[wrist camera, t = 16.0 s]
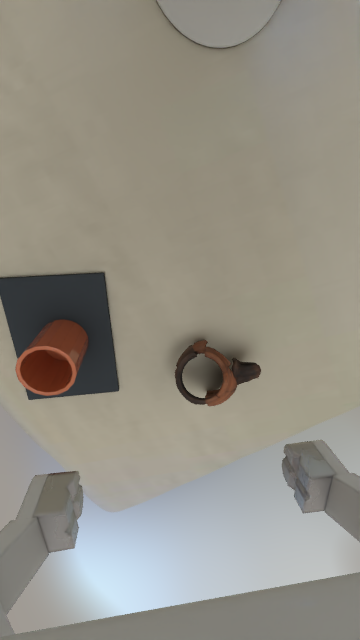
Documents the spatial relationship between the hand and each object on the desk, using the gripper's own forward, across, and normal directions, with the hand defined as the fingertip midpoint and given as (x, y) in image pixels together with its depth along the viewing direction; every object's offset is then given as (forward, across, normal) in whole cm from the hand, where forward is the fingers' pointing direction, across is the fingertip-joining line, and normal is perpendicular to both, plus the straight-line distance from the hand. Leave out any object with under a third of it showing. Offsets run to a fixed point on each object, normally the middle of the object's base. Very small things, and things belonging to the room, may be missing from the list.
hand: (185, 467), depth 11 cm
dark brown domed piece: (+29, -8, +13) cm, 33 cm away
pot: (+28, +13, +7) cm, 32 cm away
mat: (+29, +13, +7) cm, 33 cm away
